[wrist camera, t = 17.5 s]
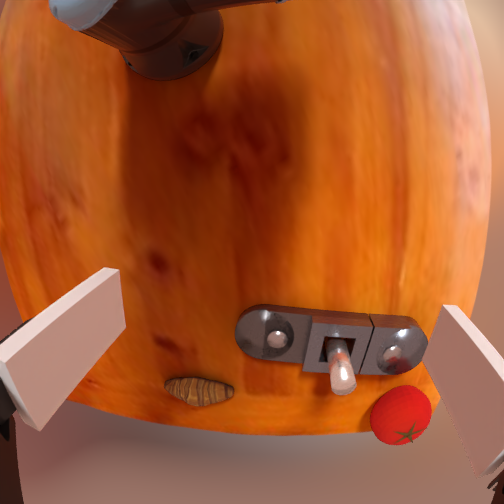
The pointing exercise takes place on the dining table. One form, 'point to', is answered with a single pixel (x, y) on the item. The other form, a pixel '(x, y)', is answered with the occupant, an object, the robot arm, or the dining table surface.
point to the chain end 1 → (281, 331)
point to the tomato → (401, 415)
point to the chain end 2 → (368, 343)
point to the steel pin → (339, 365)
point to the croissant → (198, 390)
